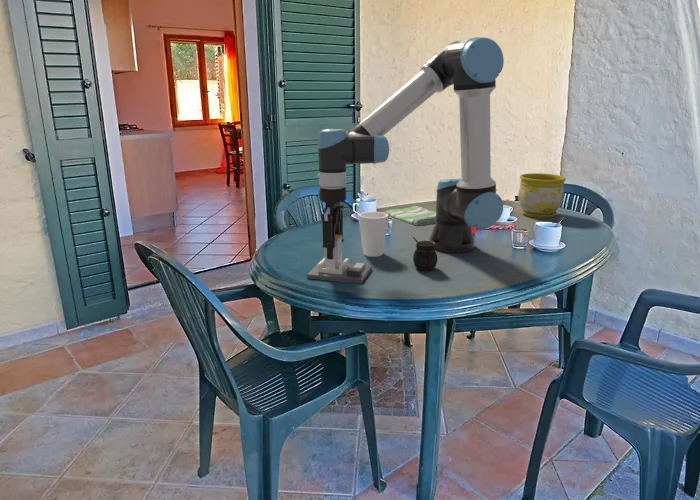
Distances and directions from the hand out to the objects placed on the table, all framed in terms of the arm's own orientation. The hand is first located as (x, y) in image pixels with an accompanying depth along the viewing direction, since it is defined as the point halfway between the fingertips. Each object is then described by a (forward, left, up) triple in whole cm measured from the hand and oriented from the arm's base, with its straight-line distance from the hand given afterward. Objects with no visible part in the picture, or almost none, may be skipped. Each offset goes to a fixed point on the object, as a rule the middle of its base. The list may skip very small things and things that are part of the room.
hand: (333, 266), depth 148 cm
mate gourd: (-25, -11, -2) cm, 27 cm away
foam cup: (-7, -21, -2) cm, 22 cm away
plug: (0, 0, -1) cm, 1 cm away
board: (-2, 0, -2) cm, 3 cm away
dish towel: (-13, -74, -3) cm, 76 cm away
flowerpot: (-63, -92, -2) cm, 112 cm away
